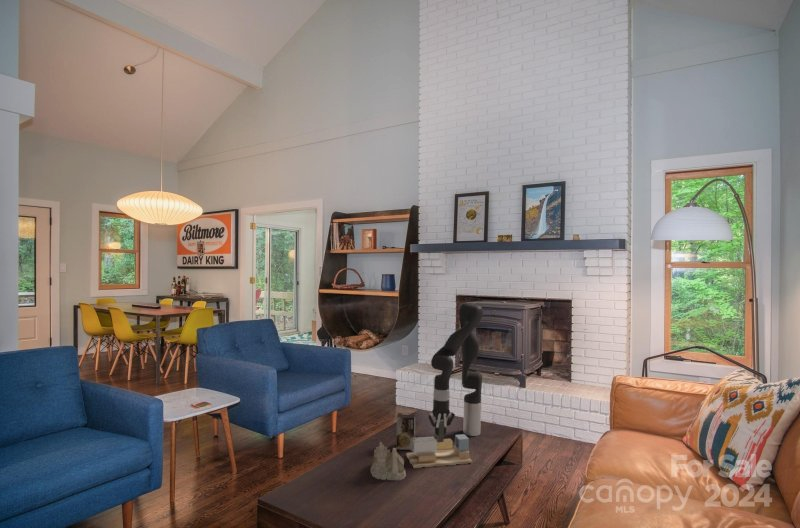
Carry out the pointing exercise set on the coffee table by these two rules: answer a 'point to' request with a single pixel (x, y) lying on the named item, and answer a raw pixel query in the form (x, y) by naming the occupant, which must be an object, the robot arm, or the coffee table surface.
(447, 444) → the multicoloured piece
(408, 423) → the coffee box
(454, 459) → the birch board
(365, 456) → the coffee table surface
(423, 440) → the grey and tan block
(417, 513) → the coffee table surface
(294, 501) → the coffee table surface
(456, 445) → the slate-blue socket
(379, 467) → the ceramic cottage
